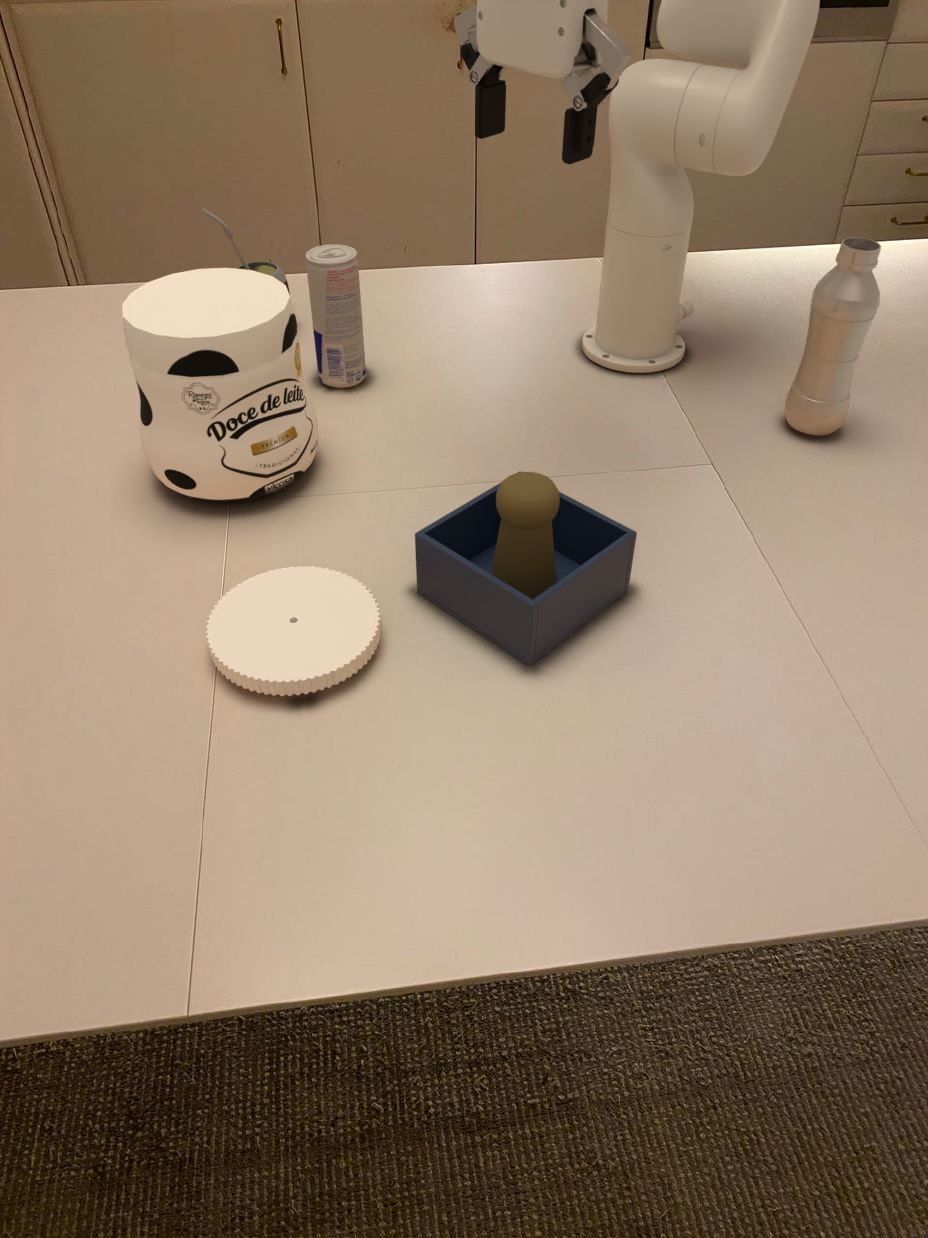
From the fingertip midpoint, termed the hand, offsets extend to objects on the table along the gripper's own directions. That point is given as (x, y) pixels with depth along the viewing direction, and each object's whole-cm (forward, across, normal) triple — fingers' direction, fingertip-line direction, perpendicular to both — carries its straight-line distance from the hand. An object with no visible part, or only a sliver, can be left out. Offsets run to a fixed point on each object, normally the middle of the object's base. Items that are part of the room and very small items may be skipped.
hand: (532, 147), depth 80 cm
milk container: (+31, +19, +22) cm, 42 cm away
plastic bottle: (+31, -19, -27) cm, 45 cm away
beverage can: (+31, +26, +2) cm, 40 cm away
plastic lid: (+31, -6, +34) cm, 46 cm away
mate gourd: (+31, +43, +1) cm, 53 cm away
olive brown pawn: (+30, -15, +16) cm, 37 cm away
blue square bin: (+30, -15, +16) cm, 37 cm away
